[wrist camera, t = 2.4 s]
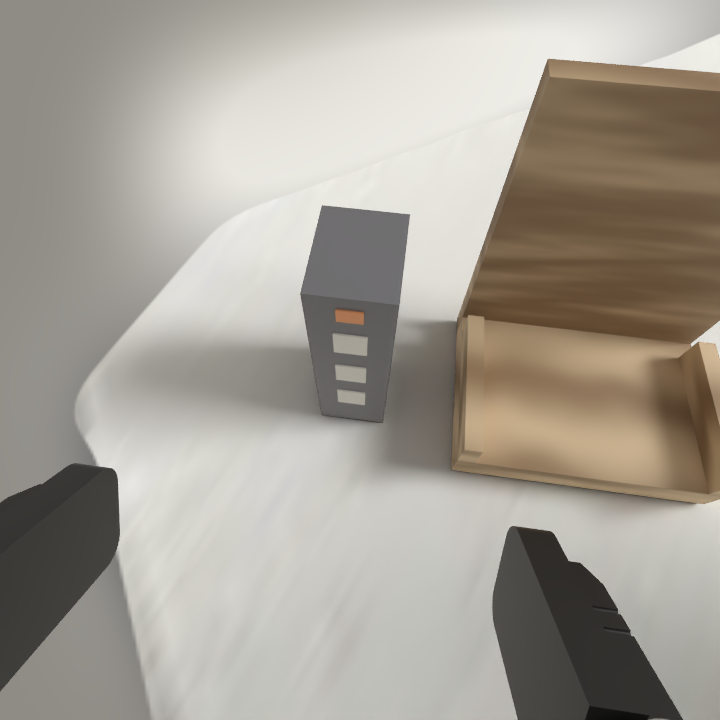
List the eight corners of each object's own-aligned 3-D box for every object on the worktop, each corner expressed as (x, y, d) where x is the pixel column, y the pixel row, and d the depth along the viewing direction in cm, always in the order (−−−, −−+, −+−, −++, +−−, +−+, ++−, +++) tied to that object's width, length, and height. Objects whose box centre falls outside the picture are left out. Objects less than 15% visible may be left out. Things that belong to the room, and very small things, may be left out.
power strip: (382, 424, 30) (399, 307, 18) (321, 416, 30) (299, 295, 18) (390, 355, 32) (409, 214, 21) (334, 348, 32) (321, 205, 21)
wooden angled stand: (703, 504, 27) (1181, 358, 12) (451, 469, 28) (572, 289, 12) (668, 343, 33) (962, 93, 17) (457, 319, 34) (547, 58, 18)
